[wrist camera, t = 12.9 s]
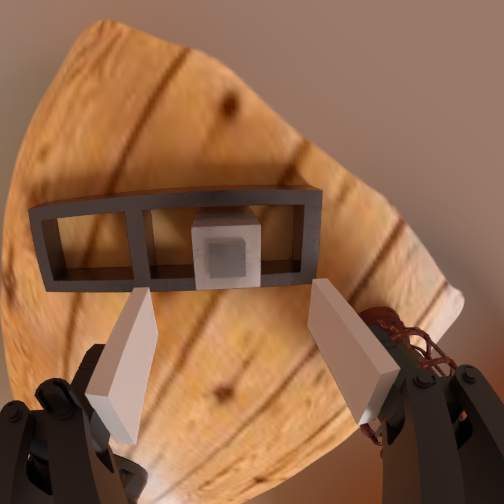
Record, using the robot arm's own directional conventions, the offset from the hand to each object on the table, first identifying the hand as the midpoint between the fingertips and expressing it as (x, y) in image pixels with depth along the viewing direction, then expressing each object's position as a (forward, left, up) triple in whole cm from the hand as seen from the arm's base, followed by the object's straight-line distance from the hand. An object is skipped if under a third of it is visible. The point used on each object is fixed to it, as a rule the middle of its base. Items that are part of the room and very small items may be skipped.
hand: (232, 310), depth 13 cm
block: (0, 0, -13) cm, 13 cm away
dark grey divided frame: (-5, 0, -13) cm, 14 cm away
